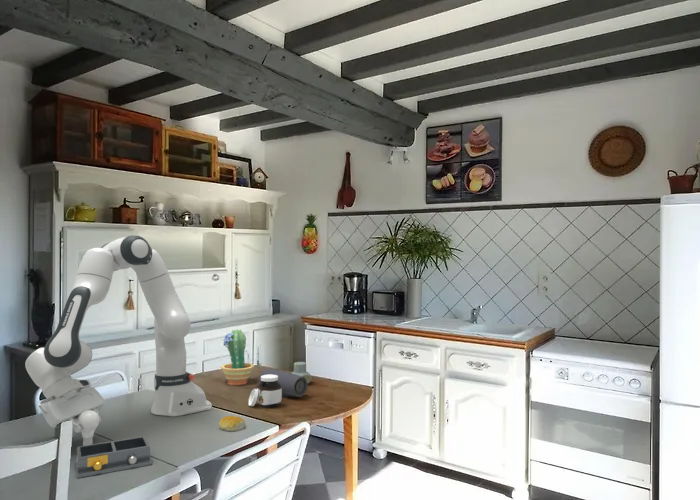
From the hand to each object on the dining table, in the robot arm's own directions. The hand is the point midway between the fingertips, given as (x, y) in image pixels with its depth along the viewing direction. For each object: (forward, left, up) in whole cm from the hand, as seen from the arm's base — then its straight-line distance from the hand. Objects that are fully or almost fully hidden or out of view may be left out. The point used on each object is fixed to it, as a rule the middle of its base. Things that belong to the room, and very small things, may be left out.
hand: (89, 426), depth 157 cm
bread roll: (-44, +2, -7) cm, 45 cm away
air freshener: (-90, -42, -7) cm, 100 cm away
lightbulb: (0, 0, -6) cm, 6 cm away
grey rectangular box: (-5, +17, -6) cm, 19 cm away
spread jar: (-63, -17, -7) cm, 66 cm away
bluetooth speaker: (-76, -29, -7) cm, 82 cm away
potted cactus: (-65, -58, -7) cm, 88 cm away
